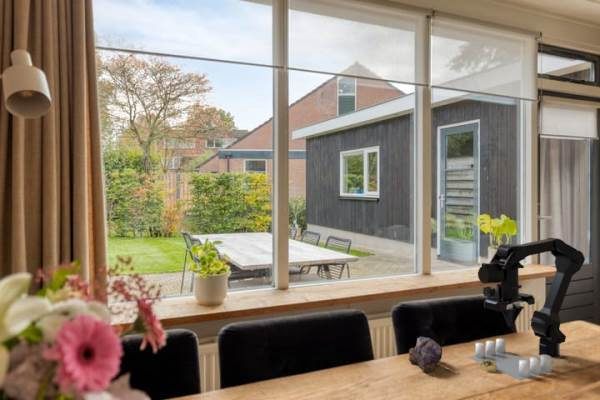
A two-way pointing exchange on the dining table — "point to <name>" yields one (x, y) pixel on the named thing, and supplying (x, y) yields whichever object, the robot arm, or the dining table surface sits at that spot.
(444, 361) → the dining table surface
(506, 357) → the board
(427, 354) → the rock
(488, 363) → the nut
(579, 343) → the dining table surface
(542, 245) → the robot arm
